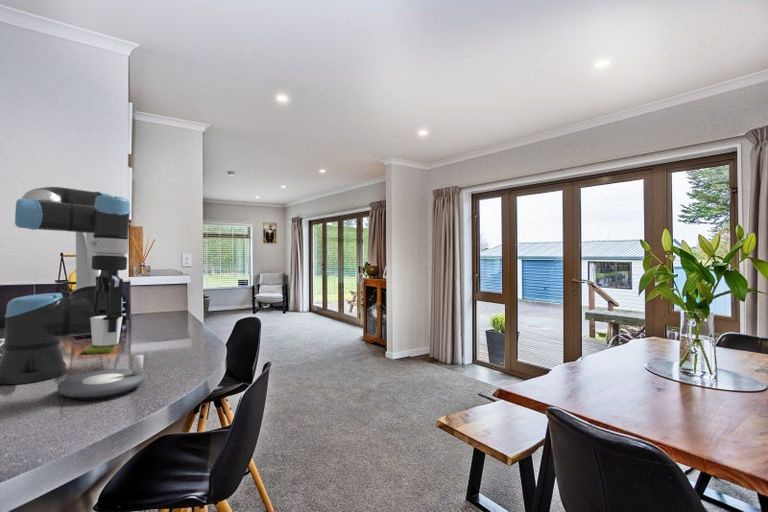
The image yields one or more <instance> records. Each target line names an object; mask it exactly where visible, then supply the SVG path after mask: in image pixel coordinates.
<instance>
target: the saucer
mask: <svg viewBox="0 0 768 512" xmlns="http://www.w3.org/2000/svg"><path fill="white" fill-rule="evenodd" d="M117 346H118V343H117V344H115V345H106V346H96V345H92V344H89V345H88V346H86V347H85V348H84V349H83V352H85V353H86V354H87V355H90V354H91V355H92V354H93V355H95V354H96V355H97V354H107V353H109V354H110V353H111V352H112V351H114V349H116V347H117Z"/></svg>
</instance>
